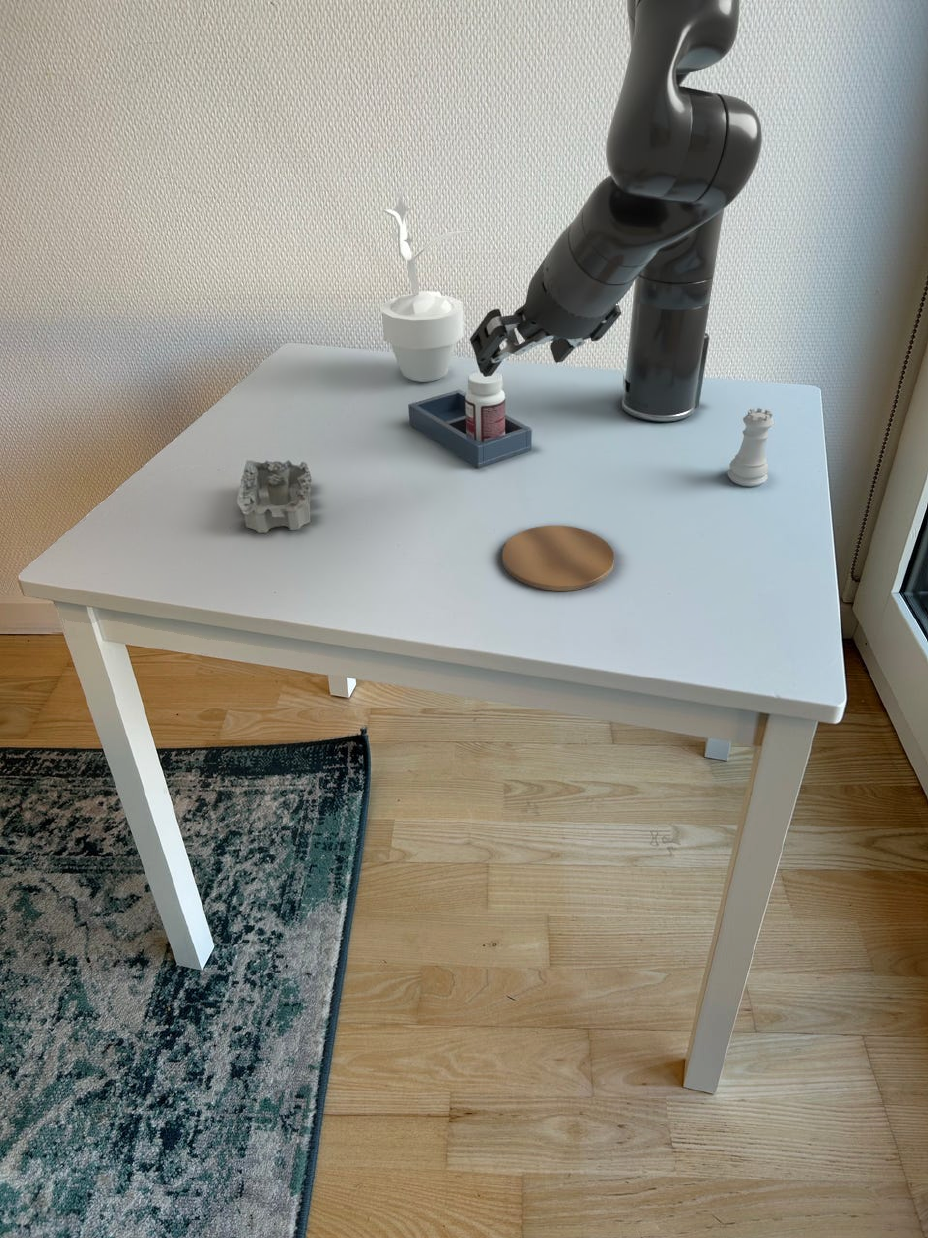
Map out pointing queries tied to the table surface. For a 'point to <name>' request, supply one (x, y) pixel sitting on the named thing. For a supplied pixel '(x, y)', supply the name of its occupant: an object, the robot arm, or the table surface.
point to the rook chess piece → (752, 450)
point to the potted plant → (421, 316)
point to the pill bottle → (485, 407)
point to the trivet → (558, 558)
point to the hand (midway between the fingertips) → (520, 361)
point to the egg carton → (275, 495)
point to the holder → (448, 428)
